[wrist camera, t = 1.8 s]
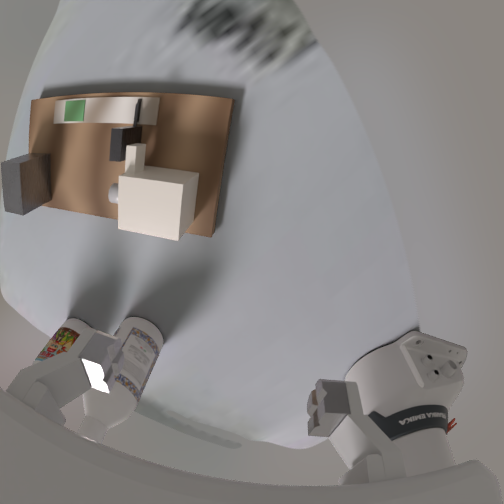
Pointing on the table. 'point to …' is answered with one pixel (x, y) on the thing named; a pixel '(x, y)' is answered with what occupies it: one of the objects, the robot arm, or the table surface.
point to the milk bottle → (62, 339)
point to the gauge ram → (154, 197)
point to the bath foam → (123, 379)
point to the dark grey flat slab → (124, 139)
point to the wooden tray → (153, 135)
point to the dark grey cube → (26, 182)
